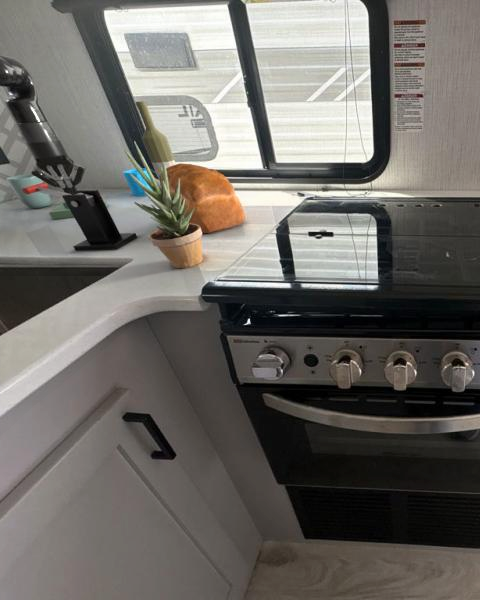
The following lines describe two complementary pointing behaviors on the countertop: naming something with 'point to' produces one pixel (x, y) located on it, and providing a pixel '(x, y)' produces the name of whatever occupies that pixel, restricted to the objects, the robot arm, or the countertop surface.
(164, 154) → the bottle
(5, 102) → the robot arm
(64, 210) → the button block
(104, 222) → the bracket
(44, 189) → the lever
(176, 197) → the potted plant
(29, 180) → the cup
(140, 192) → the mug
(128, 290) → the countertop surface
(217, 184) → the bread
